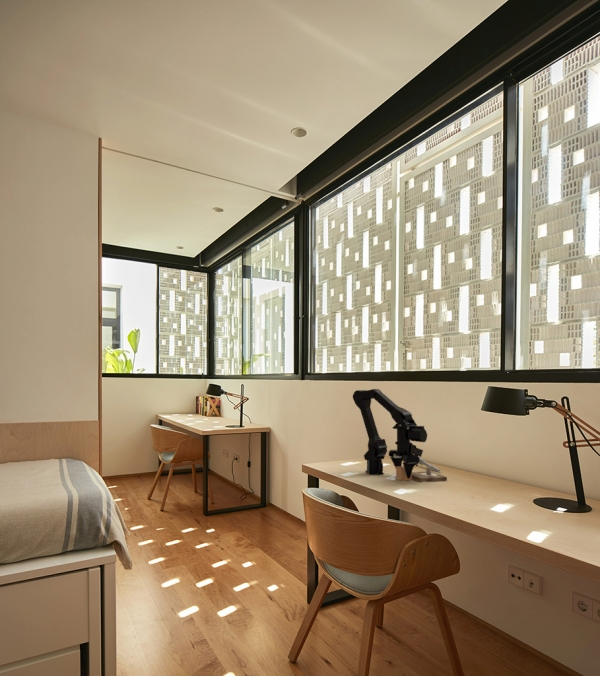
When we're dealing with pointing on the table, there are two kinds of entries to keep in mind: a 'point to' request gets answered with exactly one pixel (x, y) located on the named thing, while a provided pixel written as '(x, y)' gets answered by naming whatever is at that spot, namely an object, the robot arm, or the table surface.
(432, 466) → the caliper
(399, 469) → the light brown cube
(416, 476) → the post board
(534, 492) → the table surface
